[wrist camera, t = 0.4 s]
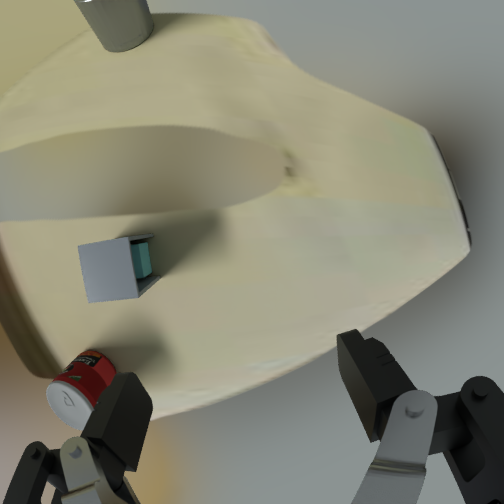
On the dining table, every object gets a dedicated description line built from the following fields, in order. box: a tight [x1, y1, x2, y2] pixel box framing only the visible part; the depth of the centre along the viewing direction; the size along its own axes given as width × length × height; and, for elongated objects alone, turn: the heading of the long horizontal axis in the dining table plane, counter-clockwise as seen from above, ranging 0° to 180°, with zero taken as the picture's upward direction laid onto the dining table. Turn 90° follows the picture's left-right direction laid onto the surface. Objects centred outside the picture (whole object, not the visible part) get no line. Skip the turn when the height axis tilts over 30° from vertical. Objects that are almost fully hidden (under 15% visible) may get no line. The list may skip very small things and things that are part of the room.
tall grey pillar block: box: [78, 234, 160, 303], centre depth 29 cm, size 6×6×10 cm
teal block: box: [131, 242, 152, 279], centre depth 32 cm, size 4×4×4 cm
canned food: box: [46, 351, 117, 430], centre depth 29 cm, size 8×8×11 cm
